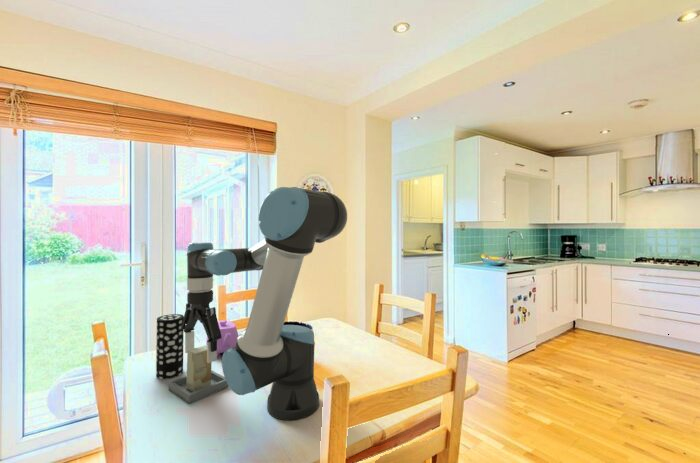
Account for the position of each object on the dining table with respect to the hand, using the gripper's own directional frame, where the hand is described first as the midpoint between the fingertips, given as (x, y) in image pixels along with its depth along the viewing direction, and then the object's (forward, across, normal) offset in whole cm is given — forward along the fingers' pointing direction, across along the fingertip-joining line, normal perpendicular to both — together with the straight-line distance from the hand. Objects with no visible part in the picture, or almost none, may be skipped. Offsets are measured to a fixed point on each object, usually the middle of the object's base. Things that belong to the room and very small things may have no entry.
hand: (200, 356), depth 103 cm
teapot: (+10, +23, -22) cm, 33 cm away
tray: (+10, +1, 0) cm, 11 cm away
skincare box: (+10, +1, 0) cm, 10 cm away
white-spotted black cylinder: (+10, +19, +1) cm, 21 cm away
